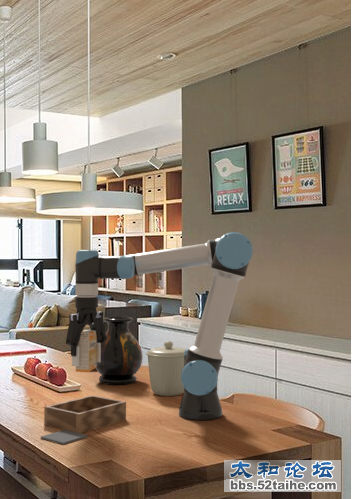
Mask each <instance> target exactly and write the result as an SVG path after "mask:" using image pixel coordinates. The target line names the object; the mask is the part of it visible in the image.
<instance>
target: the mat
mask: <svg viewBox="0 0 352 499" xmlns="http://www.w3.org/2000/svg"><path fill="white" fill-rule="evenodd" d="M86 437H87V438H89V435H88V434H84V433H77V432H73V431H69V430H62V429H61V430H60V431H56V432H52V433H49V434H46V435H42V436H40V439H41V438H42V439H41V440H44V439H46V440H45V441H48V440H50V441H49V442H52V441H54V442H53V443H55V442H57V443H56V444H59V443H60V444H59V445H63V444H64V445H67V444H70V443H69V442H71V443H73V442H72V441H74V442H76V441H75V440H77V441H80V440H83V439H82V438H84V439H86ZM79 439H80V440H79ZM66 443H67V444H66Z"/></svg>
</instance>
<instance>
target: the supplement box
mask: <svg viewBox="0 0 352 499" xmlns="http://www.w3.org/2000/svg"><path fill="white" fill-rule="evenodd" d="M77 346H79V366H78V367H77V366H75V372H76V373H78V372H79V373H89V372H91V371H93V370H95V369H96V367H97V335H96V331H95V330H91V329H83V331H82V332H81V337H80V340H79V342H78V345H77Z"/></svg>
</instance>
